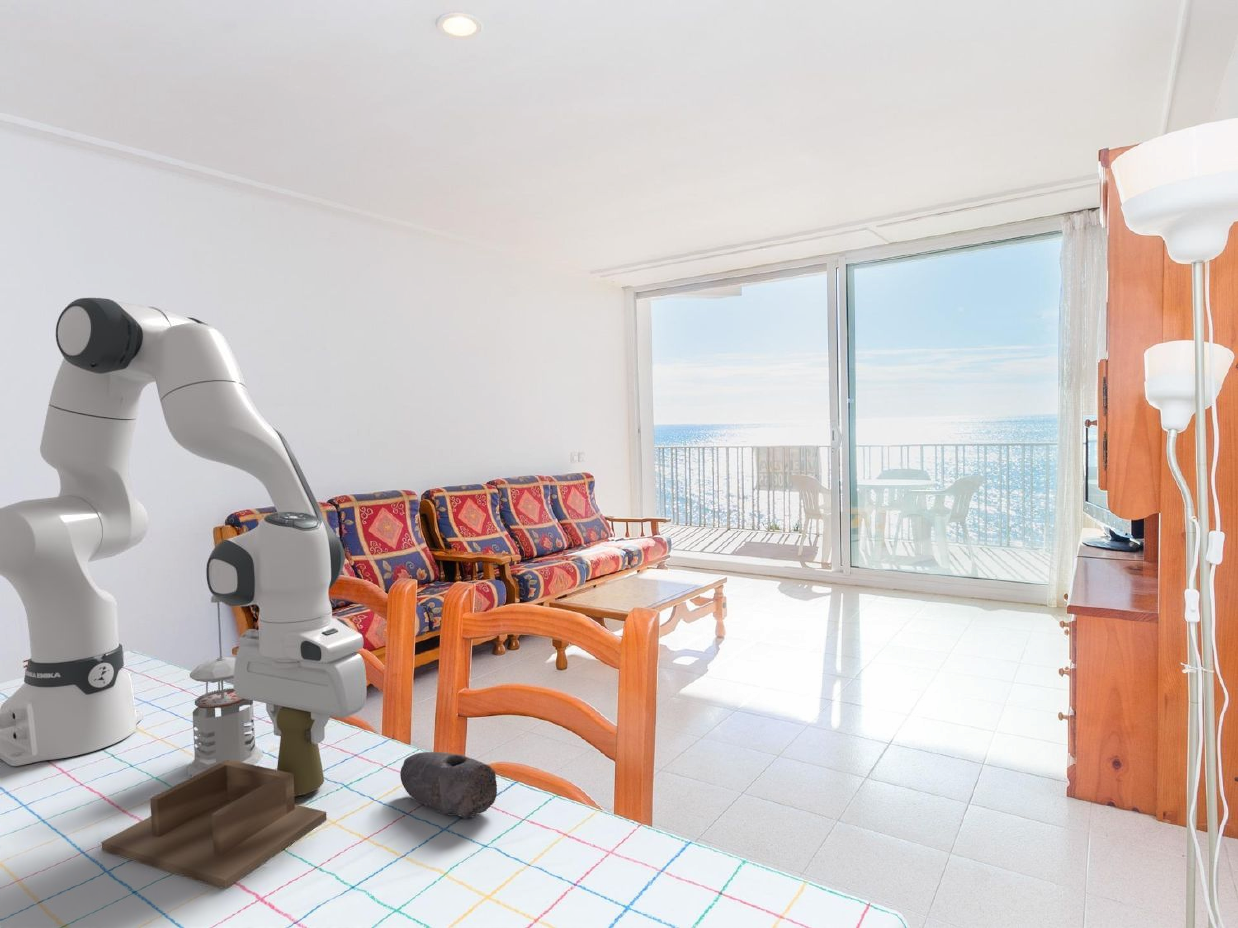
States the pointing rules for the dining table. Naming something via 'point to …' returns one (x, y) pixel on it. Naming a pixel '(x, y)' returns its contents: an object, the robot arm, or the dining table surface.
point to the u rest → (218, 824)
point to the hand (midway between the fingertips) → (299, 737)
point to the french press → (221, 718)
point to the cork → (298, 750)
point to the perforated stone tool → (449, 783)
